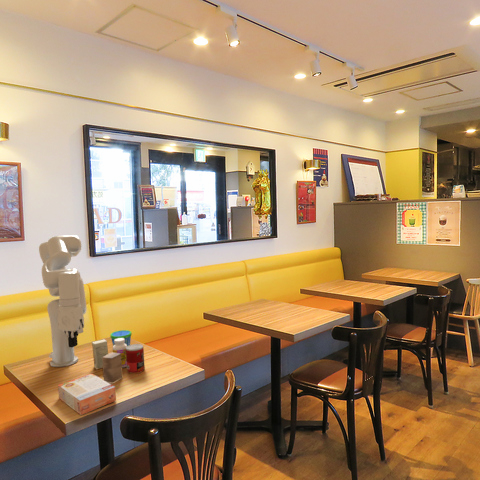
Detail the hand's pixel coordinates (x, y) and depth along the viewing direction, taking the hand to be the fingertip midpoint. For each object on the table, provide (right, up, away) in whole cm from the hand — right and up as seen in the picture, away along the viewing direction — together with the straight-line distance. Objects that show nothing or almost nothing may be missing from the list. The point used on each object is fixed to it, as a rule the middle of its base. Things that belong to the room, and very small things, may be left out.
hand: (73, 346), depth 163 cm
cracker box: (+1, -16, -1) cm, 16 cm away
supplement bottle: (+12, -17, +26) cm, 33 cm away
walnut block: (+13, -17, +10) cm, 24 cm away
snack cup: (+7, -15, +45) cm, 48 cm away
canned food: (+20, -17, +20) cm, 33 cm away
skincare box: (+2, -17, +26) cm, 31 cm away
